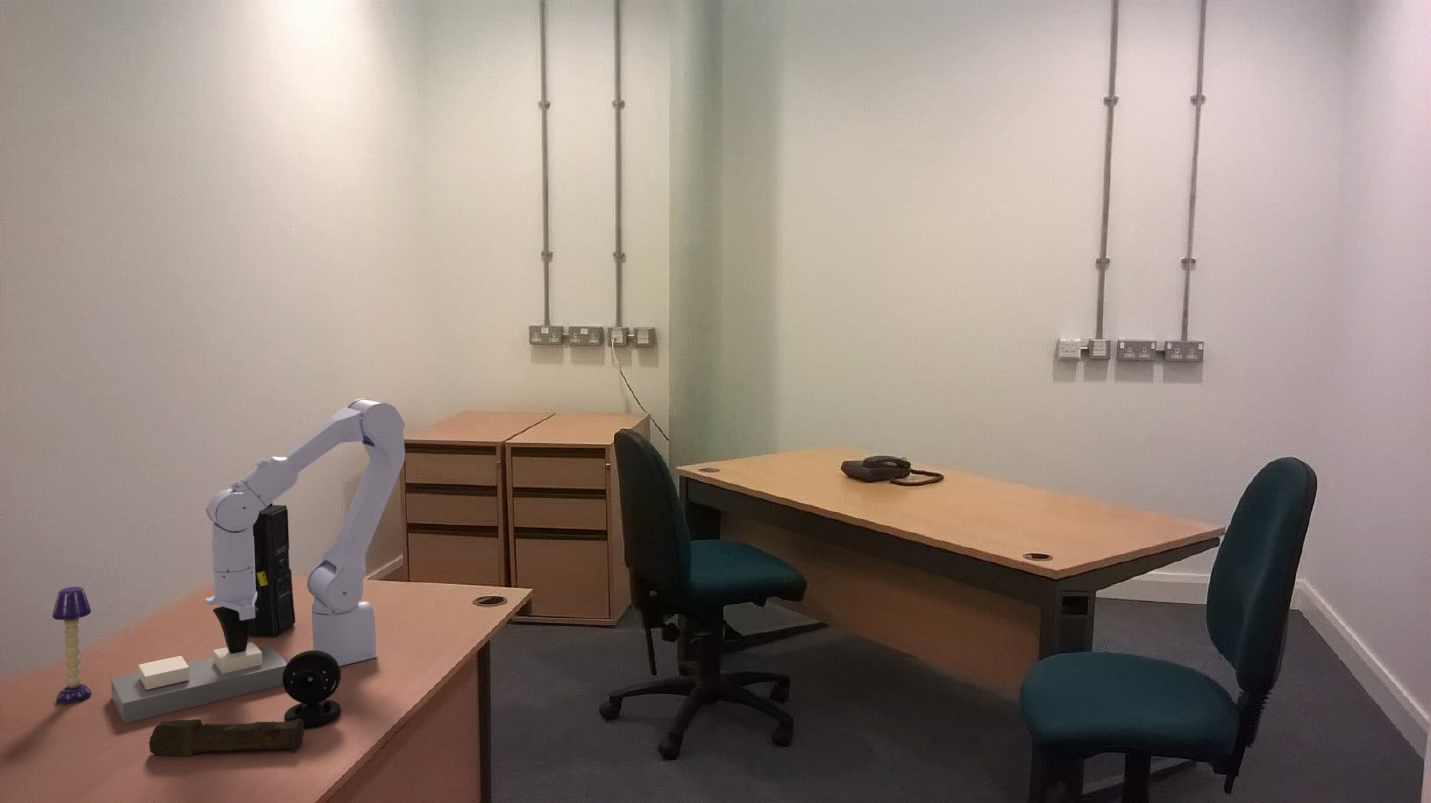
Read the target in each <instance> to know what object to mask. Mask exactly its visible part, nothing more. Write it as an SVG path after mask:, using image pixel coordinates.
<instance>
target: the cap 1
mask: <svg viewBox="0 0 1431 803" xmlns="http://www.w3.org/2000/svg"><path fill="white" fill-rule="evenodd" d="M186 662H187V661H185V659H184V658H183V656H182V655H179V656H173V657H169V658H164V659H160V660H154V661H150V662H145V663H141V664H138V673H139V678H140V680H141V682H142V684H143V685H144V687H145V689H146V690H147V689H152V688H158V687H163V686H167V685H172V684H175V683H178V682H183V681H187V680H190V674H189V666H188V665H187V663H186Z"/></svg>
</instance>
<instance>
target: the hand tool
mask: <svg viewBox="0 0 1431 803" xmlns="http://www.w3.org/2000/svg"><path fill="white" fill-rule="evenodd" d="M304 735H305V729H304V723H303V720H301V719H296V720H293V721H287V722H285V721H256V722H252V723H251V722H250V723H248V722H247V723H227V724H226V723H225V724H224V723H223V724H222V723H216V724H215V723H211V724H210V723H206V724H203V723H202V720H201V718H200V719H198V718H197V719H195V718H193V719H173V720H163V721H162V722H160V723H159V724H157V725H156V726H155V728H154V729H153V731H152V734H151V735H150V737H149V742H148V746H149V751H150V752H149V753H151V754H153V755H158V756H164V757H183V758H184V757H185V758H191V757H194V756H196V755H198V754H199V753H207V752H227V751H228V752H229V751H256V750H257V751H258V750H259V751H260V750H261V751H263V750H269V751H272V750H276V751H277V750H282V749H283V750H284V749H287V750H289V749H290V750H291V751H292V752H293V754H295V753H297V752H298V750H299V749H300V748H301V746H302V743H303V738H304Z"/></svg>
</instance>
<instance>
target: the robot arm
mask: <svg viewBox="0 0 1431 803" xmlns="http://www.w3.org/2000/svg"><path fill="white" fill-rule="evenodd" d="M405 427H406V423H405V421H404V419H403V418H402V416H401V414H400V413H399V411H398V409H396V407H395V406H393V405H392V404H390V403H388V402H379V401H375V400H373V399H370V398H365V397H364V398H358V399H355V400H353V401H351V402H350V403H349V404H348V405H347V407H346V406H345V407H343V408H341V409H339V410H338V411H337V412H335V414H333V415H332V416H331V417H330V418H329V419H328V420H326V422H324V423H323V424H322V425H321V426H319V427H318V428H317V429H316V430H315V431H314V432H312V433H311V434H310V435H309V436H308V437H306V438H305V439H303V440H302V441H301V442H300V443H299V444H297V445H296V446H295V447H294V448H293V449H291V450H290V451H289V452H288V453H287V454H285V455H284V456H271V457H269V458H268V459H264V458H261V459H259V460H258V461H257V462H256V463H255V465H256V468H254V469H252V470H251V471H250V472H249V473H248V474H246V475H245V476H244V477H242V478H240V480H233V481H232V482H231V483H230V484H229V486H230V487H231V488H227V489H222V490H219V491H217V492H216V493H215V494H214V495H213V496H212V497H211V499H210V502H208V504H207V505H208V506H207V507H206V508H205V511H206V515H207V518H208V519H209V520H210V521H212V532H211V534H212V539H211V540H212V541H211V545H212V547H211V548H212V549H211V550H212V570H213V572H212V573H213V593H214V594H213V596H211V597H206V598H205V603H206V605H207V606H218V607H215V608H213V610H212V611H213V613H214V615H215V616H216V618H217V620H218V622H219V624H220V627H221V628H222V633H223V636H224V640H225V644H226V647H227V648H228V650H229V652H230V653H231V654H234V653H239V652H243V651H246V648H247V643H249V638H250V636H249V634H250V630H251V626H252V624H253V621H254V619H255V618H256V616H257V614H258V611H259V610H258V608H257V607H255V602H256V599H257V591H256V584H255V556H254V536H253V524H254V523H255V522H256V520H257V518H258V515H259V511H260V510H263V509H265V507H267V506H268V505H270V504H271V503H274V502H275V501H276V500H277V499H279V498H280V497H281V496H283V495H284V494H285V493H287V492H288V491H289V490H291V489H292V488H293V487H294V486H295V485H297V482H298V476H299V473H300V472H301V471H302V470H304V469H306V468H307V467H308V466H310V465H311V464H312V463H314V462H316V461H317V460H318V459H320V458H321V457H323V456H324V455H326V454H328V453H329V452H330V451H331V450H333V449H334V448H336V447H337V446H339V445H340V444H343V443H353V442H355V443H356V442H361V443H362V445H363V447H364V449H365V451H366V453H367V454H368V456H369V461H368V464H367V466H366V468H365V470H364V473H363V475H362V478H361V480H360V482H359V485H358V487H357V489H356V492H355V494H354V496H353V498H352V501H351V503H350V506H349V509H348V510H347V513H346V516H345V517H344V519H343V522H342V525H341V527H340V530H339V531H338V534H337V536H336V539H335V541H334V543H333V545H332V546H331V547H330V548H329V549H327V551H325V552H324V553H323V555H322V558H321V559H320V561H319V562H318V563H317V565H315V567H313V568H312V570H311V571H310V572H309V574H308V575H307V579H306V586H307V590H308V592H309V594H310V595H312V596H313V597H314V601H313V603H312V605H311V616H312V617H311V619H312V623H311V625H312V650H319V651H322V652H325V653H328V654H330V655H331V656H332V657H333V658H334V659H336V661H337V663H338V665H339V667H341V666H346V665H350V664H354V663H358V662H362V661H366V660H370V659H375V658H378V653H377V647H376V643H377V642H376V638H377V637H376V636H377V635H376V616H375V613H374V612H375V611H374V608H373V606H372V604H371V602H369V601H367V600H366V601H361V599H362V597H363V594H364V578H365V576H366V573H367V567H366V559H365V558H366V554H367V552H368V549H369V547H370V545H371V542H372V540H373V537H374V535H375V532H376V530H377V528H378V525H379V524H380V521H381V518H382V516H383V513H384V510H385V508H386V506H387V503H388V501H389V499H390V497H391V495H392V492H393V490H394V486H395V484H396V482H397V480H398V477H399V475H400V472H401V470H402V467H403V465H404V463H405V460H406V449H405V447H406V446H405V439H404V438H405V437H404V429H405Z"/></svg>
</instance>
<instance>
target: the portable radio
mask: <svg viewBox="0 0 1431 803" xmlns="http://www.w3.org/2000/svg"><path fill="white" fill-rule="evenodd" d="M273 503H274V502H272V503H271V504H270V505H268V506H267V507H265V509H263V510H260V511H259V515H258V518H257V520H256V522H255V523H254V524H253V536H254V556H255V584H256V591H257V599H256V602H255V607H257V608H258V610H259V611H258V614H257V616H256V618H255V619H254V621H253V624H252V626H251V630H250V634H249V637H254V638H257V637H259V638H277V637H279V636H280V635H282V634H283V633H284V632H286V631H288V630H289V629H290V628H291V627H293V626H294V625H295V623H296V622H297V621H296V614H295V605H294V593H293V578H292V569H291V568H290V557H289V556H290V555H289V554H290V552H289V550H290V537H289V536H290V535H289V534H290V533H289V532H290V531H289V513H288V512H289V511H288V507H287V505H286V504H284V505H282V504H281V505H280V504H273Z"/></svg>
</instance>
